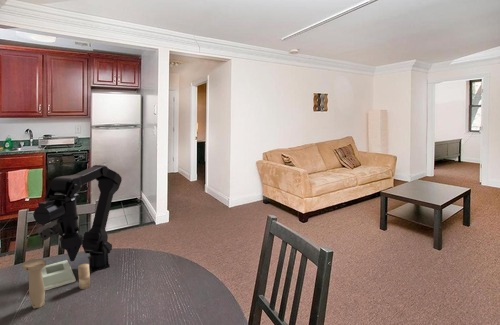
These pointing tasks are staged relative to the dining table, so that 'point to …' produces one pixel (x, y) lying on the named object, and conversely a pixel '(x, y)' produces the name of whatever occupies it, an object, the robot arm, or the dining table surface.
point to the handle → (35, 281)
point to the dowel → (84, 276)
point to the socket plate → (57, 275)
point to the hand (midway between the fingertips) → (70, 255)
